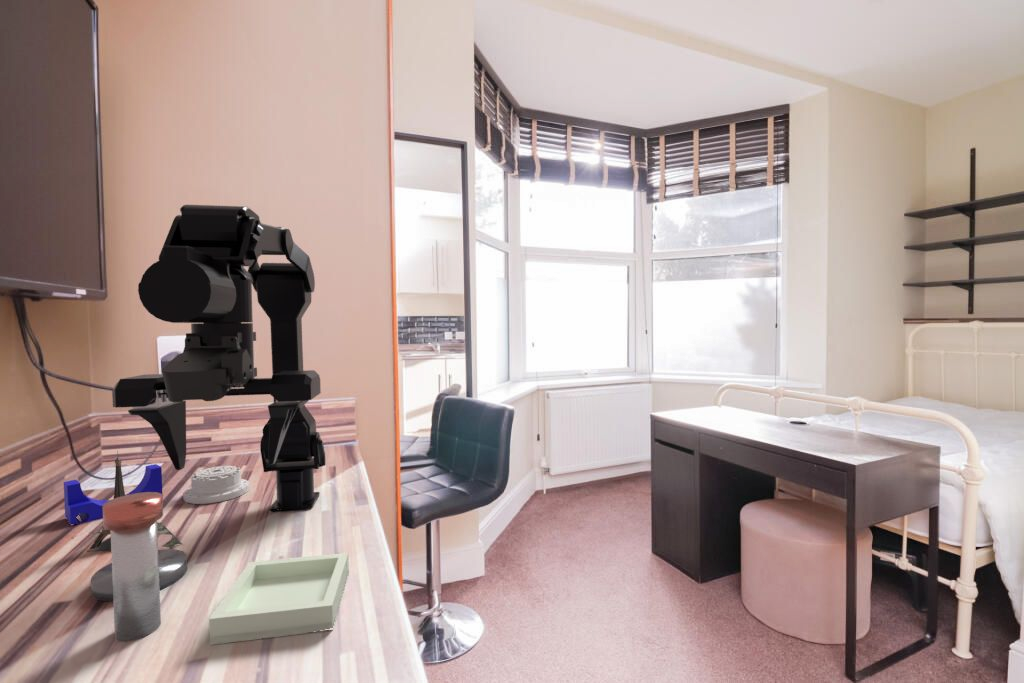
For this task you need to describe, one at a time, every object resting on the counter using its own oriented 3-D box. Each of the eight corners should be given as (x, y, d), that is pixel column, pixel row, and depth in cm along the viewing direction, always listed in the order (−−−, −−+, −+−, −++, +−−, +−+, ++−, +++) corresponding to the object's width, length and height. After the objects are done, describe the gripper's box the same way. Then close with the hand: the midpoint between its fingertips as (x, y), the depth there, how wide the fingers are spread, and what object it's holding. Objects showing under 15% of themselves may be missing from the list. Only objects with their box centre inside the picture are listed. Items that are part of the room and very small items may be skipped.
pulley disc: (121, 564, 61) (120, 546, 61) (200, 557, 62) (199, 540, 62) (70, 605, 52) (69, 584, 52) (164, 596, 54) (163, 575, 54)
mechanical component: (224, 506, 81) (260, 486, 90) (223, 480, 80) (260, 463, 90) (169, 504, 82) (211, 484, 91) (168, 479, 81) (210, 461, 91)
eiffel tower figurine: (184, 548, 66) (181, 452, 66) (87, 577, 59) (83, 469, 58) (155, 519, 76) (152, 435, 76) (68, 541, 69) (64, 448, 68)
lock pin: (126, 618, 50) (120, 493, 49) (175, 612, 51) (171, 490, 50) (96, 647, 45) (90, 511, 45) (151, 641, 46) (146, 507, 45)
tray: (250, 583, 56) (249, 562, 56) (348, 573, 58) (348, 552, 58) (209, 644, 45) (209, 619, 45) (332, 630, 47) (332, 605, 47)
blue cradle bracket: (70, 527, 73) (69, 487, 72) (65, 519, 76) (63, 481, 75) (165, 503, 82) (164, 468, 82) (157, 497, 85) (156, 464, 85)
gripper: (69, 324, 42) (77, 499, 43) (296, 322, 46) (300, 484, 46) (141, 324, 53) (146, 463, 54) (319, 322, 57) (322, 453, 57)
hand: (227, 466), depth 53 cm, fingers open, 9 cm apart
